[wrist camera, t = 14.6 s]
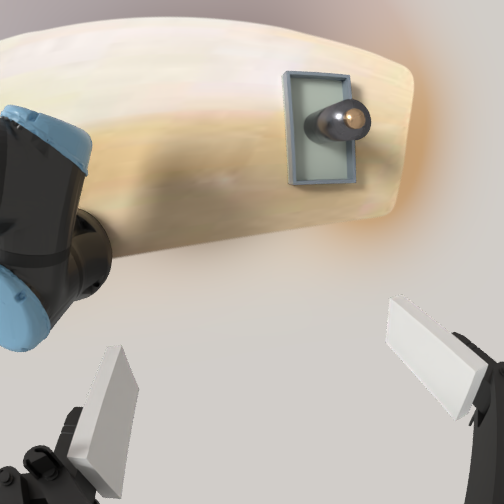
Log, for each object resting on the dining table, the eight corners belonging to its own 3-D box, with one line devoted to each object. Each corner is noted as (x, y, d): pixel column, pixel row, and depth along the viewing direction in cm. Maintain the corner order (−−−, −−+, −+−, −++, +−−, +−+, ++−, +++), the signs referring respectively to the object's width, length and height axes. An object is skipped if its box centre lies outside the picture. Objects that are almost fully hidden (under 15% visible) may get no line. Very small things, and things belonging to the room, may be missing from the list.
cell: (304, 143, 44) (337, 139, 32) (302, 111, 43) (334, 96, 31) (335, 143, 45) (376, 140, 33) (333, 112, 43) (373, 99, 31)
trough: (288, 183, 47) (293, 185, 44) (281, 76, 42) (286, 70, 39) (348, 181, 48) (356, 182, 45) (342, 79, 43) (349, 75, 40)
